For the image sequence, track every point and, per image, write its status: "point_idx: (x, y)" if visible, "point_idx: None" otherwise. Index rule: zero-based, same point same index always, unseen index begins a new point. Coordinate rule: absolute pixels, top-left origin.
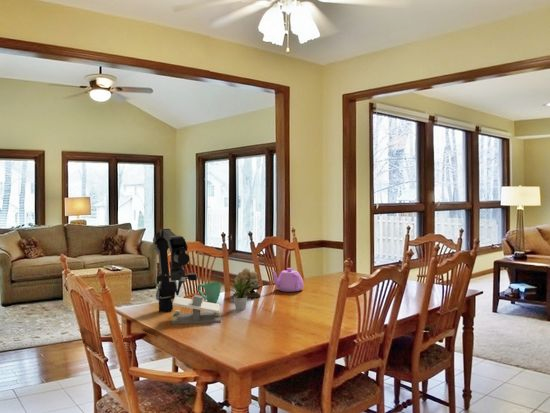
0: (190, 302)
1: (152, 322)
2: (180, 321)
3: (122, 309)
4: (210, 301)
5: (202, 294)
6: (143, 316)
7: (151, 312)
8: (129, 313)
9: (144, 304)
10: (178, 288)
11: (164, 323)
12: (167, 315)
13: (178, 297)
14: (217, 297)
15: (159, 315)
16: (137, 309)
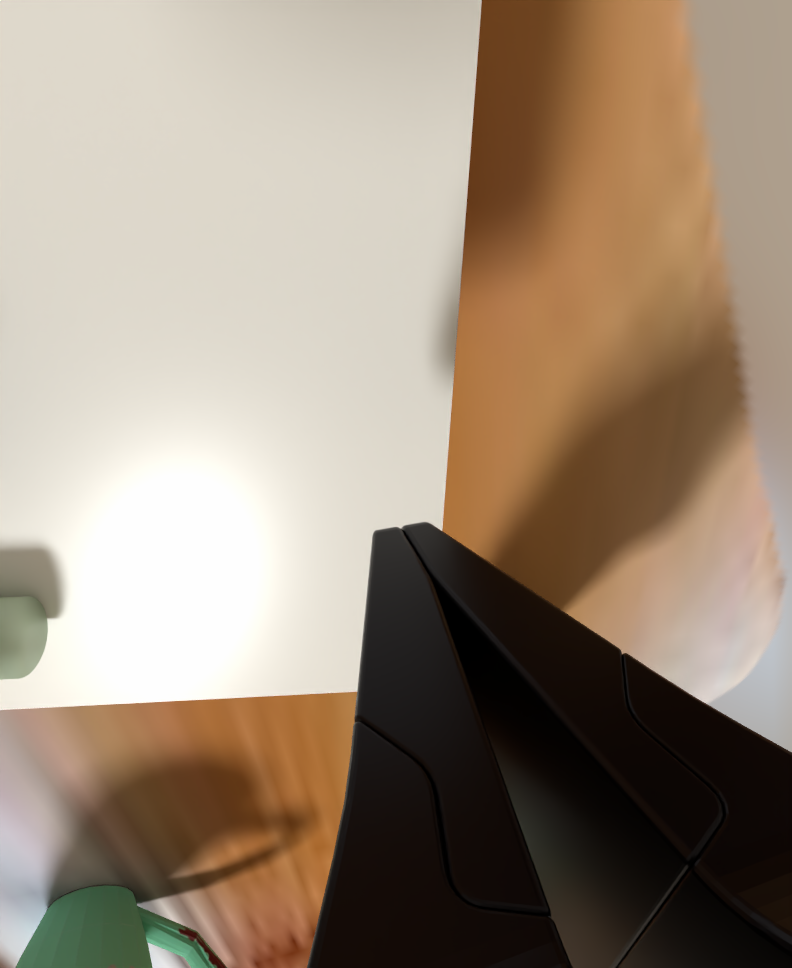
0: (11, 467)
1: (626, 201)
2: None
3: (760, 638)
4: (100, 898)
5: (198, 963)
6: (671, 472)
7: (589, 593)
8: (749, 554)
9: None
10: (440, 711)
11: (475, 103)
12: (449, 511)
13: None
14: (18, 965)
15: (528, 508)
16: (673, 651)
